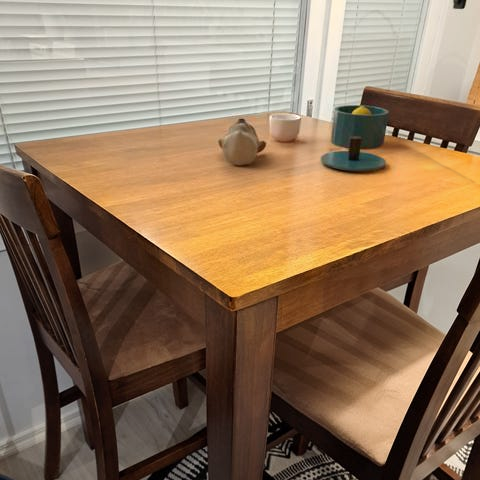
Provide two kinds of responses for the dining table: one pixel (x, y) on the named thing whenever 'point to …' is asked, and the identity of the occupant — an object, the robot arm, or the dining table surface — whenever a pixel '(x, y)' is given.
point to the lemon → (362, 111)
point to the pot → (359, 126)
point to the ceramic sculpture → (241, 143)
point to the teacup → (284, 126)
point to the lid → (353, 158)
